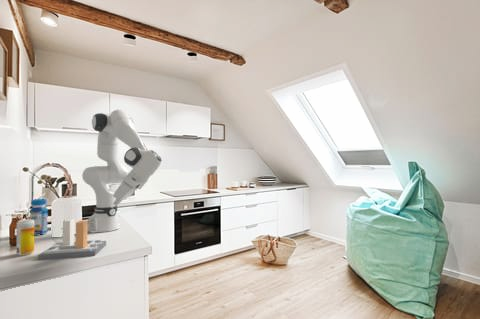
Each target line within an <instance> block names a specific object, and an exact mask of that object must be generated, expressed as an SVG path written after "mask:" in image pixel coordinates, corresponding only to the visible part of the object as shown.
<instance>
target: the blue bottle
mask: <svg viewBox="0 0 480 319" xmlns="http://www.w3.org/2000/svg"><path fill="white" fill-rule="evenodd" d="M46 205H47V199H46V198H35V199H32V200H31V206H32V207H31V208H30V210H29V218H28V219H33V220H34V235H39V236H41V235H40V234H44V235H46V234H48V217H49V214H48V210H49V209H48V208H47V206H46ZM45 233H46V234H45Z"/></svg>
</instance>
